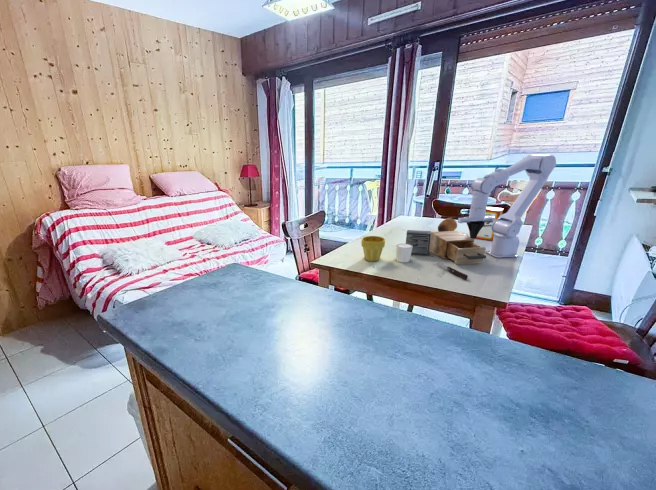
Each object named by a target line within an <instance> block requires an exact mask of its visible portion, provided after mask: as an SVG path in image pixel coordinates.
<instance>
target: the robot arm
mask: <svg viewBox="0 0 656 490" xmlns="http://www.w3.org/2000/svg"><path fill="white" fill-rule="evenodd" d="M556 167H557V160H556V156H555V155H553V154H534V153H529V154H528V155H525V156H523V157H522V159H521V160H519V161H517V162H515V163H514V164H512V165H510V166H508V167H506V168H496V169H495V170H494V171H492V172H491V173H489V174H485V175H484V176H483V177H477V178H476V179H474V180H473V181H472V183H471V184H470V189H471V195H472V198H471V201H470V202H471V203H470V209H469V214H468V216H464V217H458V219H457V224H464V223H465V224H466V225H467V228H468V231H469V237H470V238H472V239H474V240H476V237H477V235H478V233H479V231H480V230H481V228H482V227H483V226H484V225H485V223H483V222H485V221H494V219H495V217H493V216H485V212H486V207H488V202H489V197H490V193H491V192H492V191H493V190H494V189H495V188H496V187H497V186H500V185H501V184H503V183H505V182H507V181H508V180H509V178H510V177H512V176H514V175H517V174H518V173H521V172H523V171H525V173H526V175H527V176H528V177H529V180H528V182H526V184H525V186H524V187H523V189H522V190H521V192H520V193H519V194H518V196H517V197H516V199H515V200H514V202H513V203H512V205H511V206H510V208H509V209H508V211H507V212H505V213H503V214H502V215H500V216H499V218H498V219H497V220H495V221H494V222H493V224H492V226H491V230H492V231H493V234H494V237H493V241H491V247H490V250H485V253H486V254H488V255H490V256H492V257H494V258H496V259H498V258H516V257H518V249H519V246H520V239H519V237H518V235H519V233H520V230H521V228H522V226H523V225H524V223H523V220H522V219H521V218H522V217H523V215H524V214H525V212H526V211H527V209H528V208H529V206H530V205H531V204H532V203H533V201H534V199H535V198H536V197H537V195H538V194H539V192H540V191H541V189H542V188H543V187H544V186H545V184H546V183H547V181H548V179H549V176H550V175H551V173H552V172H553V171H554V169H555V168H556Z"/></svg>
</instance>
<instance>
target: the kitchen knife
mask: <svg viewBox="0 0 656 490" xmlns="http://www.w3.org/2000/svg"><path fill="white" fill-rule="evenodd" d="M434 264H436V266H438V267H440V268H441V269H443V270H446V271H448V272H450V273H451V274H453V275H455V276H457V277H460V278H461V279H463V280H464V281H467V280H468V278H469V277H468V276H469V275H467V274H466V273H463V272H462V271H459V270H457V269H456V268H453V267H451V266H449V265H446V264H443V262H442V263H441V262H435V263H434Z"/></svg>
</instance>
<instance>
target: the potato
mask: <svg viewBox="0 0 656 490" xmlns="http://www.w3.org/2000/svg"><path fill="white" fill-rule="evenodd" d="M457 228H458V221H457V220H456V219H455V218H452V217H446V218H445V219H443V220H441V222H440V223H439V224H438V225H437V232H443V231H456V229H457Z"/></svg>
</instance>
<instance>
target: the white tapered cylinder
mask: <svg viewBox="0 0 656 490" xmlns="http://www.w3.org/2000/svg"><path fill="white" fill-rule="evenodd" d="M412 247H413V246H412V245H410V244H406V243H398V244H396V247H395V249H396V262H398V263H409V262H411V257H412V256H411V255H412V254H411V252H412Z"/></svg>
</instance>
